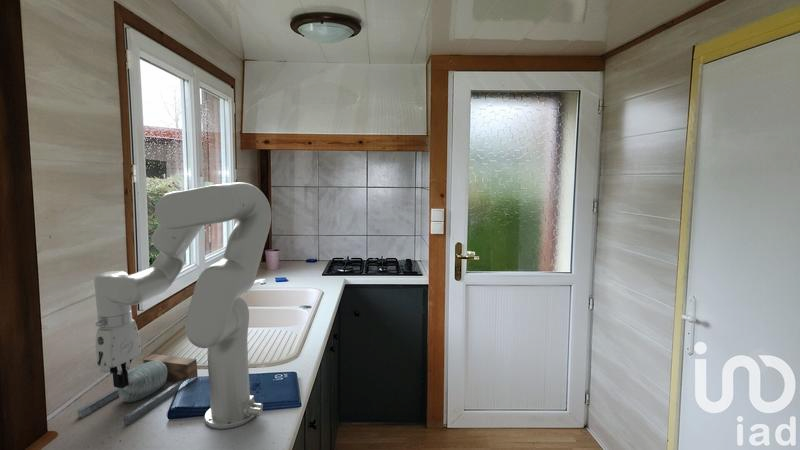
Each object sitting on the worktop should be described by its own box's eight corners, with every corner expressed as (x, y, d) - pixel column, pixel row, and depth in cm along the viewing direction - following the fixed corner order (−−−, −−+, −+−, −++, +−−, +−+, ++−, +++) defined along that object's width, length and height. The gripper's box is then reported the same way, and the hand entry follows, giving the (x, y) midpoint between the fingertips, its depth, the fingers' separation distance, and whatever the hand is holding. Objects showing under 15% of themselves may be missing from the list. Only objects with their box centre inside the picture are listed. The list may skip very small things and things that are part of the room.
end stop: (197, 377, 139) (196, 359, 138) (188, 384, 135) (187, 364, 134) (154, 372, 142) (153, 354, 142) (144, 378, 139) (143, 359, 138)
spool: (150, 368, 138) (152, 345, 133) (174, 385, 136) (177, 363, 131) (107, 399, 126) (108, 376, 121) (133, 418, 124) (135, 395, 120)
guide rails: (188, 384, 135) (188, 377, 135) (128, 425, 114) (127, 418, 113) (144, 378, 139) (144, 372, 138) (78, 417, 117) (77, 410, 117)
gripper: (102, 330, 110) (109, 402, 113) (149, 311, 125) (154, 375, 127) (77, 328, 112) (84, 398, 115) (126, 309, 127) (132, 372, 129)
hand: (121, 386), depth 121 cm, fingers closed
